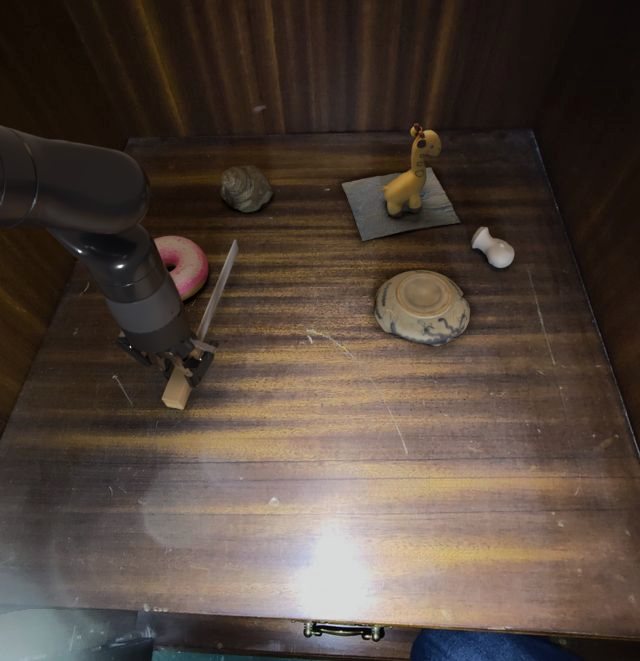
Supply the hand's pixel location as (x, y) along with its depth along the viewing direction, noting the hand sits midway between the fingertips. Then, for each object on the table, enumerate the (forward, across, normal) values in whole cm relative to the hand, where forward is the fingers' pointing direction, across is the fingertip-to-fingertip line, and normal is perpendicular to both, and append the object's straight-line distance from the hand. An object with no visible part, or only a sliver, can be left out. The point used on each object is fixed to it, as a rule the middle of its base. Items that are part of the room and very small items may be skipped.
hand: (185, 380), depth 72 cm
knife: (0, 0, +10) cm, 10 cm away
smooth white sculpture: (+3, +41, +35) cm, 54 cm away
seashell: (+3, -3, +43) cm, 43 cm away
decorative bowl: (+3, +31, +21) cm, 38 cm away
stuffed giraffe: (+3, +24, +45) cm, 51 cm away
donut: (+3, -11, +20) cm, 23 cm away
